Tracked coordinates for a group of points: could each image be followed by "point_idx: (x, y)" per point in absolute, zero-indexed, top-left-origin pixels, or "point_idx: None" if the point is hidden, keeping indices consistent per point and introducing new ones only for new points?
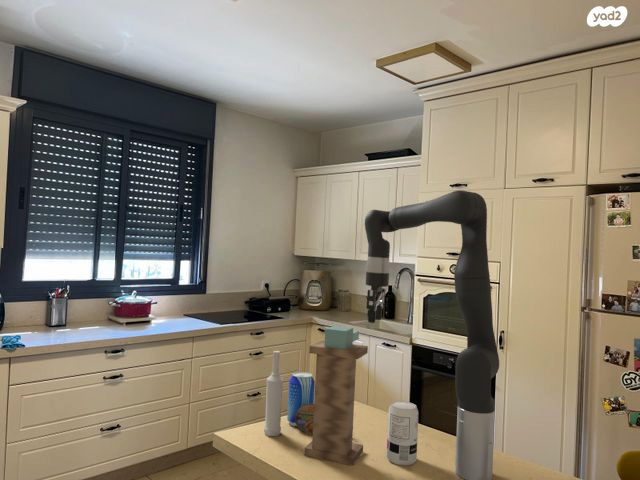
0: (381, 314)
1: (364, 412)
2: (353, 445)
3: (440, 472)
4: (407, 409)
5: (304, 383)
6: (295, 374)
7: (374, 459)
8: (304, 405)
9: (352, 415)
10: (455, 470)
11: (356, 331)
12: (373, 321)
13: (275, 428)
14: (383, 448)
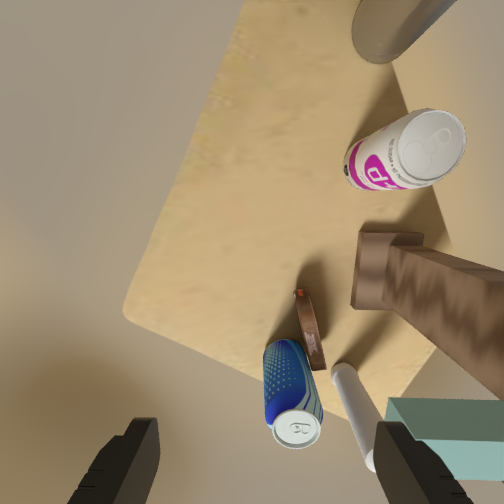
0: (116, 467)
1: (170, 276)
2: (372, 247)
3: (392, 90)
4: (463, 130)
5: (318, 405)
6: (296, 441)
7: (380, 207)
8: (321, 366)
9: (436, 259)
10: (388, 61)
11: (447, 445)
12: (403, 436)
13: (355, 373)
14: (330, 203)
